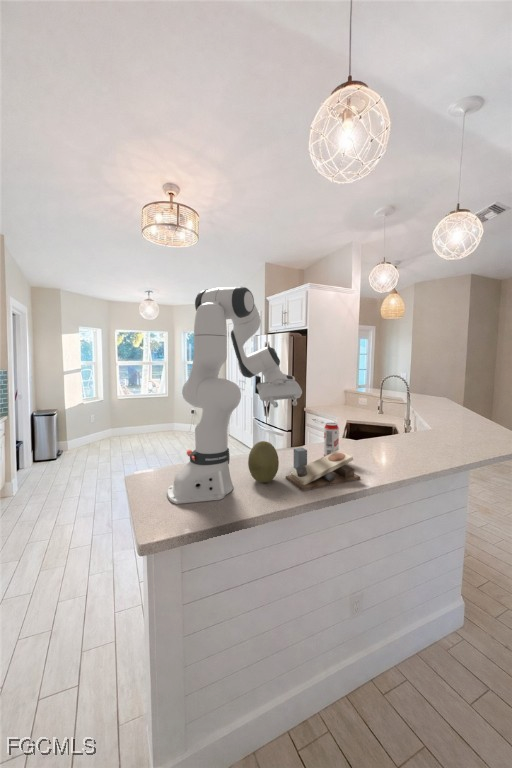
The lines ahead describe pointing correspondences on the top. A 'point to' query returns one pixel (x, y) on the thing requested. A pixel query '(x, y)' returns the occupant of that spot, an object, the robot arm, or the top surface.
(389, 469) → the top surface
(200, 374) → the robot arm
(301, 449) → the block
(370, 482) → the top surface
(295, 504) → the top surface
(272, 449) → the fruit
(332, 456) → the balance board
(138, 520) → the top surface
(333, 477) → the rocker stand
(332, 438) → the beer can
